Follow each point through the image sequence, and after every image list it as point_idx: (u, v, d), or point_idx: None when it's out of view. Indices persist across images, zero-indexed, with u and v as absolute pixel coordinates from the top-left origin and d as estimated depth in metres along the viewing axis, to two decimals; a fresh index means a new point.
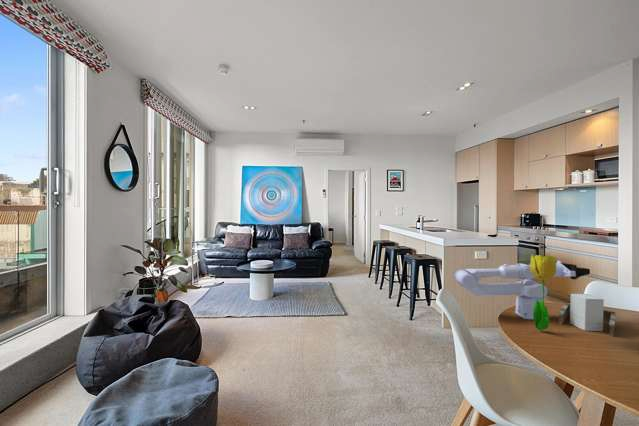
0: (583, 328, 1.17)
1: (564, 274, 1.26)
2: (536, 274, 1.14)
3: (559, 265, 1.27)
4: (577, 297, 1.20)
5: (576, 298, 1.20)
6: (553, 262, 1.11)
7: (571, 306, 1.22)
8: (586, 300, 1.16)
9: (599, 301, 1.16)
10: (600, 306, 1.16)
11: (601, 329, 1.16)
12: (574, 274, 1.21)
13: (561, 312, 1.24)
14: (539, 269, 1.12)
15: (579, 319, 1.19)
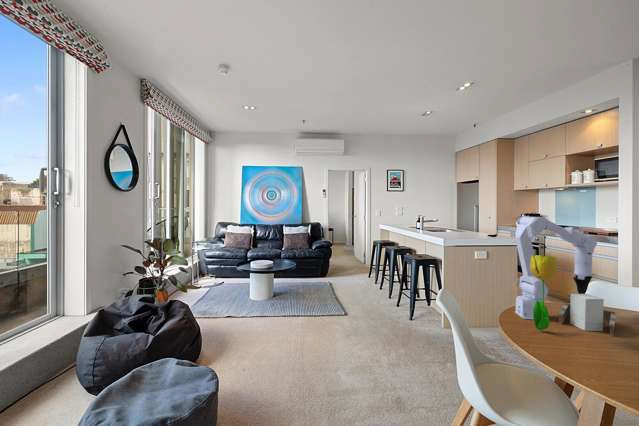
0: (583, 328, 1.17)
1: (578, 273, 1.30)
2: (536, 274, 1.14)
3: (589, 272, 1.28)
4: (577, 297, 1.20)
5: (576, 298, 1.20)
6: (553, 262, 1.11)
7: (571, 306, 1.22)
8: (586, 300, 1.16)
9: (600, 301, 1.16)
10: (600, 306, 1.16)
11: (601, 329, 1.16)
12: (579, 278, 1.26)
13: (561, 312, 1.24)
14: (539, 269, 1.12)
15: (579, 319, 1.19)
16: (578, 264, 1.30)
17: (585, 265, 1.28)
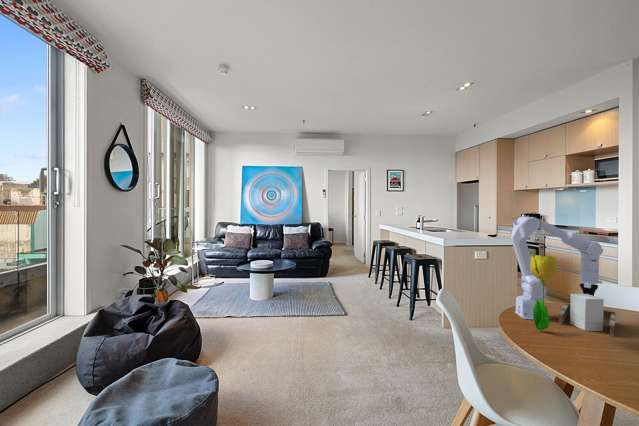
0: (583, 328, 1.17)
1: None
2: (536, 274, 1.14)
3: (596, 280, 1.22)
4: (577, 297, 1.20)
5: (576, 298, 1.20)
6: (553, 262, 1.11)
7: (571, 306, 1.22)
8: (586, 300, 1.16)
9: (599, 301, 1.16)
10: (600, 306, 1.16)
11: (601, 329, 1.16)
12: (586, 286, 1.20)
13: (561, 312, 1.24)
14: (539, 269, 1.12)
15: (579, 319, 1.19)
16: (584, 271, 1.24)
17: (591, 272, 1.23)
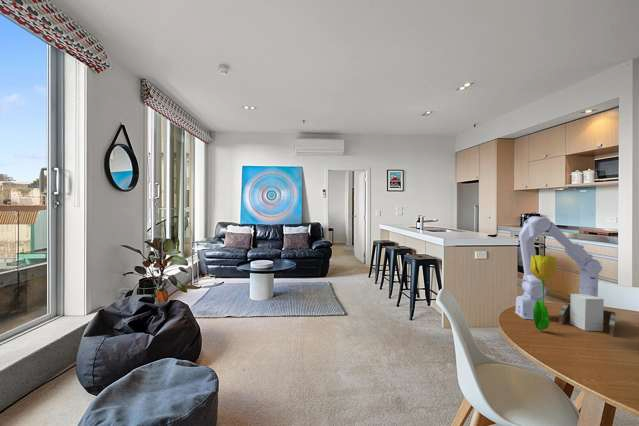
0: (583, 328, 1.16)
1: None
2: (536, 274, 1.14)
3: None
4: (577, 297, 1.20)
5: (576, 298, 1.20)
6: (553, 262, 1.11)
7: (571, 306, 1.22)
8: (586, 300, 1.16)
9: (599, 301, 1.16)
10: (600, 306, 1.16)
11: (601, 329, 1.16)
12: None
13: (561, 312, 1.24)
14: (539, 269, 1.12)
15: (579, 319, 1.19)
16: (583, 289, 1.24)
17: (591, 290, 1.22)
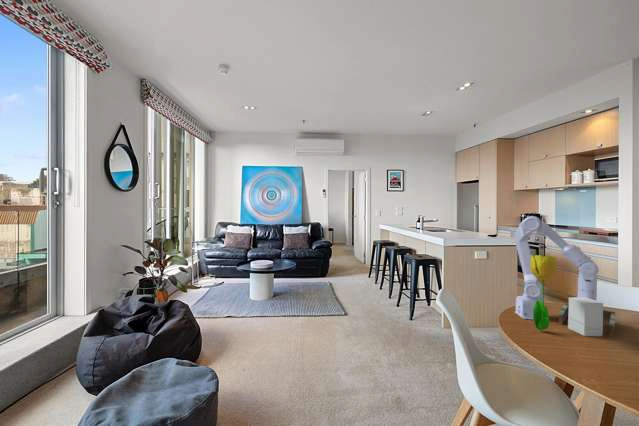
0: (583, 334, 1.11)
1: None
2: (536, 274, 1.14)
3: None
4: (576, 301, 1.15)
5: (574, 302, 1.15)
6: (553, 262, 1.11)
7: (569, 311, 1.17)
8: (585, 304, 1.11)
9: (599, 305, 1.11)
10: (600, 310, 1.11)
11: (601, 334, 1.11)
12: None
13: (561, 312, 1.24)
14: (539, 269, 1.12)
15: (578, 324, 1.14)
16: (581, 292, 1.19)
17: (589, 293, 1.17)
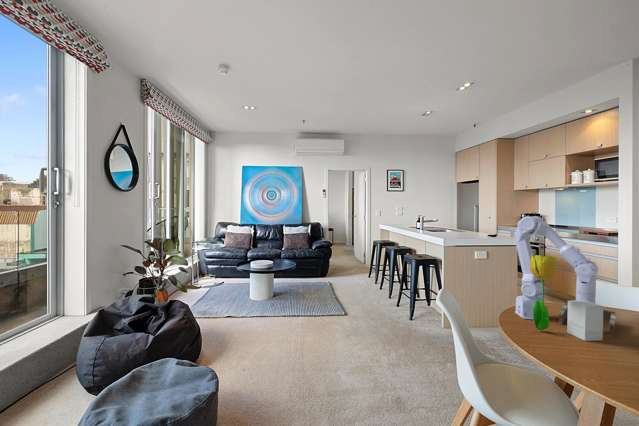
0: (583, 338, 1.08)
1: None
2: (536, 274, 1.14)
3: None
4: (576, 304, 1.11)
5: (574, 305, 1.11)
6: (553, 262, 1.11)
7: (568, 314, 1.13)
8: (586, 308, 1.07)
9: (599, 308, 1.07)
10: (600, 314, 1.08)
11: (601, 338, 1.08)
12: None
13: (561, 312, 1.24)
14: (539, 269, 1.12)
15: (578, 328, 1.10)
16: (580, 295, 1.16)
17: (588, 296, 1.14)
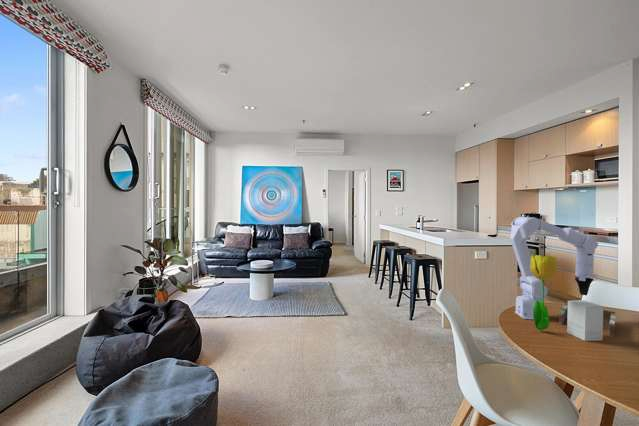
0: (583, 338, 1.08)
1: (579, 274, 1.27)
2: (536, 274, 1.14)
3: (591, 273, 1.25)
4: (575, 304, 1.11)
5: (574, 306, 1.11)
6: (553, 262, 1.11)
7: (568, 314, 1.13)
8: (586, 308, 1.07)
9: (599, 308, 1.08)
10: (600, 314, 1.08)
11: (601, 338, 1.08)
12: (580, 279, 1.23)
13: (561, 312, 1.24)
14: (539, 269, 1.12)
15: (578, 329, 1.10)
16: (579, 265, 1.27)
17: (586, 266, 1.26)
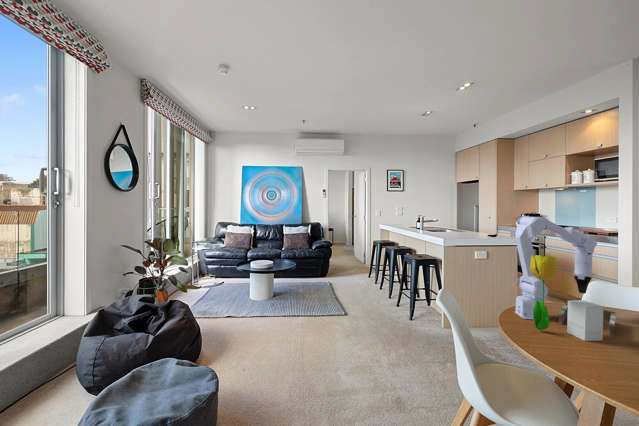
0: (583, 338, 1.08)
1: (578, 273, 1.30)
2: (536, 274, 1.14)
3: (589, 272, 1.28)
4: (576, 304, 1.11)
5: (574, 306, 1.11)
6: (553, 262, 1.11)
7: (568, 314, 1.13)
8: (586, 308, 1.07)
9: (599, 308, 1.07)
10: (600, 314, 1.08)
11: (601, 338, 1.08)
12: (579, 278, 1.26)
13: (561, 312, 1.24)
14: (539, 269, 1.12)
15: (578, 328, 1.10)
16: (578, 264, 1.30)
17: (585, 265, 1.28)
